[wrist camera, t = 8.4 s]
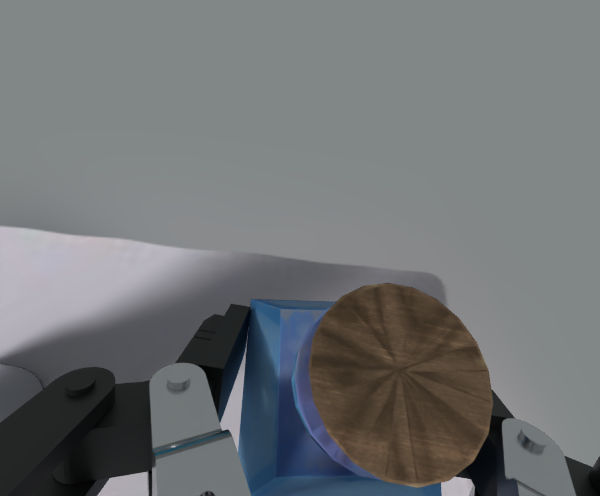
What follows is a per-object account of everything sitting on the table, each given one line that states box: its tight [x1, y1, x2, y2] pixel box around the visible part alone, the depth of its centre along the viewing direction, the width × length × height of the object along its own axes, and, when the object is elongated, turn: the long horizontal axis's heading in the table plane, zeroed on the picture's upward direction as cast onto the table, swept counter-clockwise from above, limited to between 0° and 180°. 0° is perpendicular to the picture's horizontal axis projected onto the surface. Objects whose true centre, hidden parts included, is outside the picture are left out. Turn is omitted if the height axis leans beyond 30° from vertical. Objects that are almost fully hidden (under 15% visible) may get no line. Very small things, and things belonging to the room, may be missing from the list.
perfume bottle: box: [238, 283, 493, 496], centre depth 10 cm, size 6×6×12 cm
